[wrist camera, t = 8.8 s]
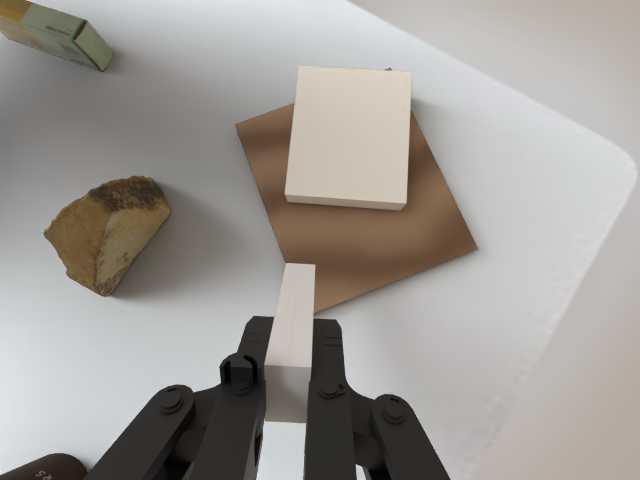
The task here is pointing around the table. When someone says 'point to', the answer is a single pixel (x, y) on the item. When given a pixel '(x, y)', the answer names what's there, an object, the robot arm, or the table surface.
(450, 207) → the board
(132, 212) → the rock
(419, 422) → the robot arm
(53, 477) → the coffee mug
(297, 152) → the tile
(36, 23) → the medication box
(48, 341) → the table surface
